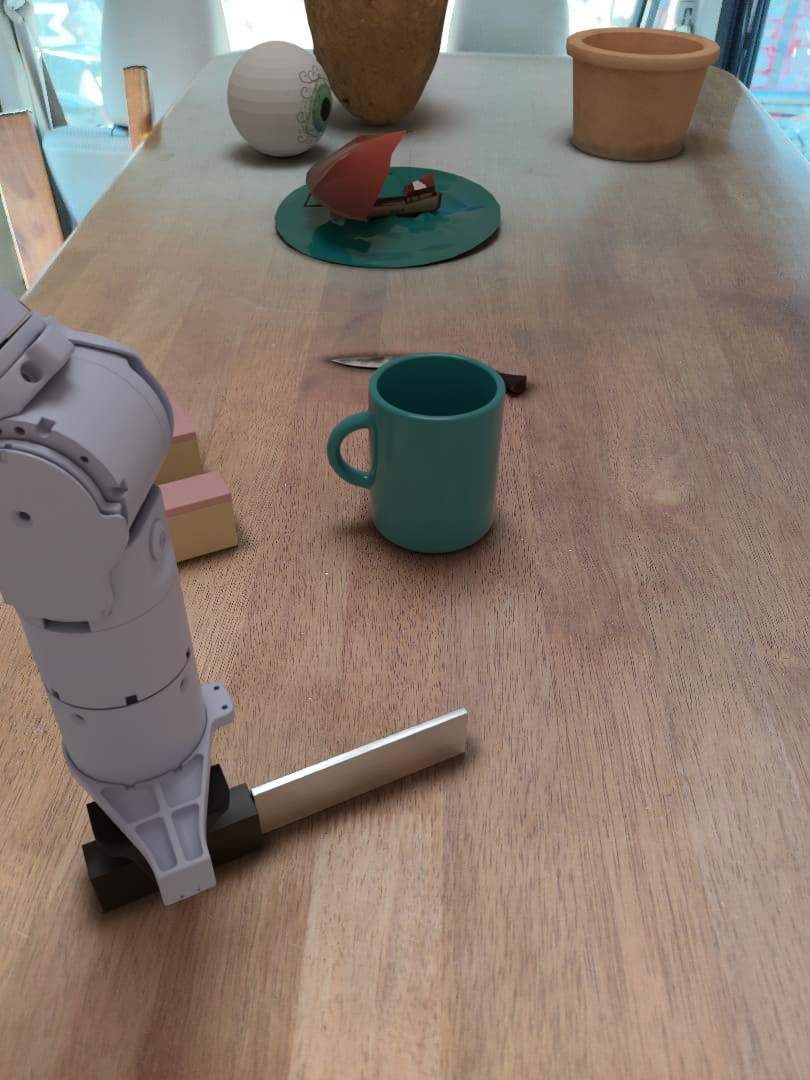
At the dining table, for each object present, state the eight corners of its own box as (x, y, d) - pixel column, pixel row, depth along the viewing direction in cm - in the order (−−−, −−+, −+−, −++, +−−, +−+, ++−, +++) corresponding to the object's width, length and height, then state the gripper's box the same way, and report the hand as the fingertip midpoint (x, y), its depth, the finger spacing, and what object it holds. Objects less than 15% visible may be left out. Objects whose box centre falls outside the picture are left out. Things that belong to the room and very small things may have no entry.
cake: (85, 512, 66) (71, 460, 64) (70, 470, 71) (56, 419, 68) (203, 481, 70) (195, 431, 67) (182, 443, 74) (174, 393, 71)
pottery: (696, 173, 129) (719, 62, 120) (544, 158, 134) (555, 50, 125) (701, 133, 145) (722, 32, 136) (565, 121, 150) (577, 23, 141)
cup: (333, 482, 70) (327, 350, 63) (488, 482, 70) (499, 351, 63) (326, 557, 63) (318, 419, 56) (498, 558, 63) (512, 420, 56)
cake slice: (110, 582, 61) (95, 528, 58) (100, 555, 63) (86, 503, 60) (238, 545, 64) (231, 492, 61) (225, 521, 66) (218, 469, 63)
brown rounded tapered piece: (469, 116, 152) (478, -61, 136) (415, 152, 136) (419, -44, 120) (349, 100, 159) (345, -70, 143) (285, 133, 143) (273, -55, 127)
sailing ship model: (256, 197, 120) (243, 109, 112) (453, 166, 125) (455, 80, 118) (306, 297, 100) (295, 200, 93) (536, 255, 106) (545, 160, 98)
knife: (322, 365, 82) (337, 344, 86) (323, 379, 83) (338, 357, 87) (524, 383, 79) (530, 360, 83) (523, 397, 80) (529, 374, 84)
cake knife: (103, 914, 43) (87, 875, 40) (94, 879, 44) (79, 839, 42) (472, 762, 49) (475, 722, 47) (454, 736, 51) (457, 696, 49)
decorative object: (293, 177, 126) (285, 58, 117) (211, 158, 132) (198, 44, 123) (354, 150, 136) (351, 39, 127) (275, 135, 142) (267, 27, 133)
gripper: (278, 754, 31) (302, 945, 40) (170, 521, 41) (208, 714, 50) (70, 832, 29) (144, 1017, 37) (9, 564, 39) (78, 759, 47)
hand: (171, 848), depth 44 cm, fingers closed
